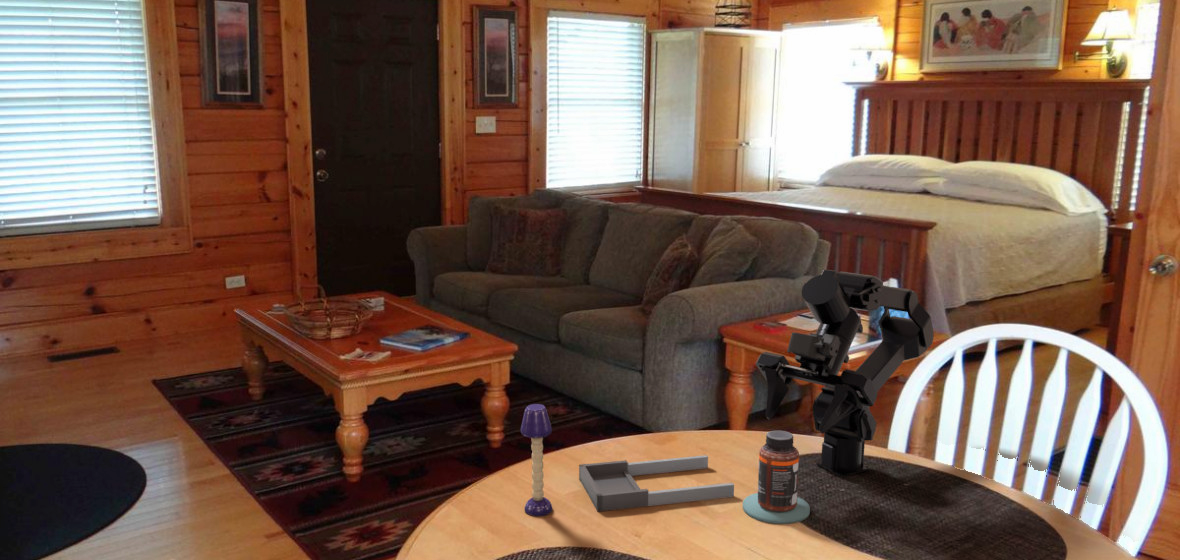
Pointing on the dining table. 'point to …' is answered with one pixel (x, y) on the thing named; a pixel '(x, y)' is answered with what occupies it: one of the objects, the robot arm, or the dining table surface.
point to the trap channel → (620, 491)
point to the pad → (764, 515)
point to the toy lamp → (537, 456)
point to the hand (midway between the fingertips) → (793, 424)
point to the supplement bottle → (778, 472)
